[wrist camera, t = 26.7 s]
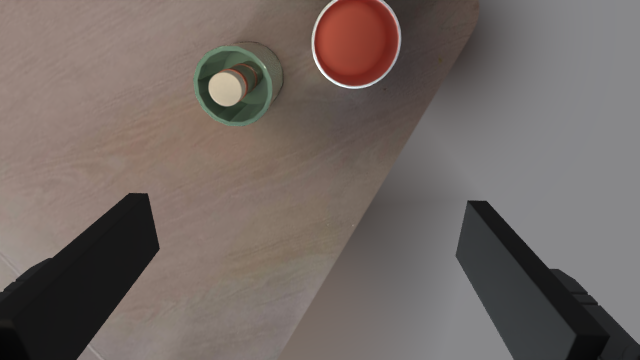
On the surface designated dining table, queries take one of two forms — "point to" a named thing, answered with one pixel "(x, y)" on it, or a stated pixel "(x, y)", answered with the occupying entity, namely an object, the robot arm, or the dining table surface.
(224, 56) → the tumbler
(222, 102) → the cream banded cylinder
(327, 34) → the cup
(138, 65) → the dining table surface
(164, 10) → the dining table surface
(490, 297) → the robot arm
